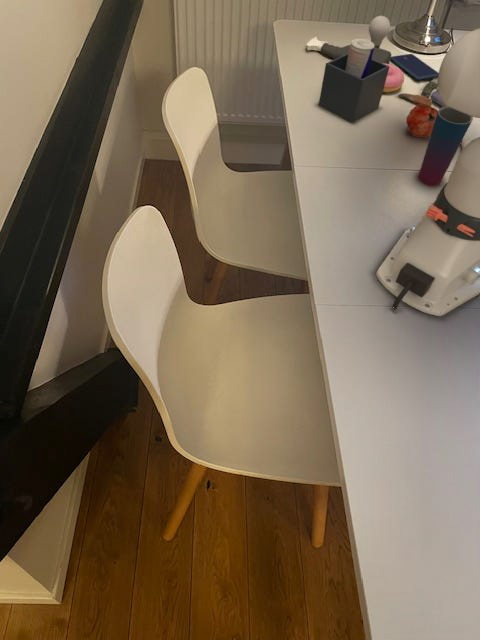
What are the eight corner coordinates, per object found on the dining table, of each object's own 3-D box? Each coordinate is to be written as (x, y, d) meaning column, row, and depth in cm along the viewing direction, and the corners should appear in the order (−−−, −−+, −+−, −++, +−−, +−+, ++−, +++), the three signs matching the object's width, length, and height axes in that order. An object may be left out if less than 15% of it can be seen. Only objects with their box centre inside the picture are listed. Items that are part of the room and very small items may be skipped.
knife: (451, 74, 144) (441, 72, 146) (453, 70, 143) (443, 67, 145) (426, 99, 133) (415, 96, 134) (428, 94, 132) (417, 91, 133)
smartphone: (440, 76, 140) (411, 55, 149) (441, 73, 140) (412, 52, 149) (417, 80, 138) (389, 58, 148) (417, 77, 138) (389, 56, 147)
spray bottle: (379, 75, 141) (300, 54, 148) (391, 60, 147) (315, 41, 154) (382, 64, 138) (301, 44, 146) (394, 50, 145) (316, 31, 152)
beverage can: (359, 111, 127) (374, 49, 115) (337, 108, 127) (350, 46, 116) (360, 101, 130) (375, 39, 119) (339, 97, 131) (351, 36, 119)
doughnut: (353, 82, 137) (356, 67, 134) (378, 71, 142) (382, 56, 139) (385, 98, 132) (389, 83, 129) (409, 86, 137) (414, 71, 134)
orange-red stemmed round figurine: (395, 137, 125) (413, 132, 116) (401, 106, 124) (419, 98, 114) (423, 141, 126) (443, 136, 117) (429, 110, 125) (450, 103, 115)
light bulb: (386, 52, 151) (395, 16, 143) (378, 59, 147) (388, 22, 140) (368, 47, 152) (376, 10, 145) (360, 54, 149) (368, 17, 141)
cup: (423, 190, 108) (449, 125, 97) (408, 171, 113) (431, 107, 101) (450, 186, 110) (479, 122, 98) (435, 167, 114) (461, 104, 102)
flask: (453, 117, 128) (457, 106, 126) (423, 98, 134) (426, 87, 132) (477, 109, 132) (482, 98, 129) (447, 90, 137) (451, 80, 135)
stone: (401, 93, 135) (396, 99, 134) (402, 88, 134) (397, 94, 133) (433, 103, 131) (428, 109, 130) (435, 98, 130) (429, 104, 129)
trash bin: (352, 123, 124) (362, 80, 116) (318, 105, 129) (325, 63, 121) (378, 108, 130) (389, 66, 121) (344, 91, 134) (353, 50, 126)
